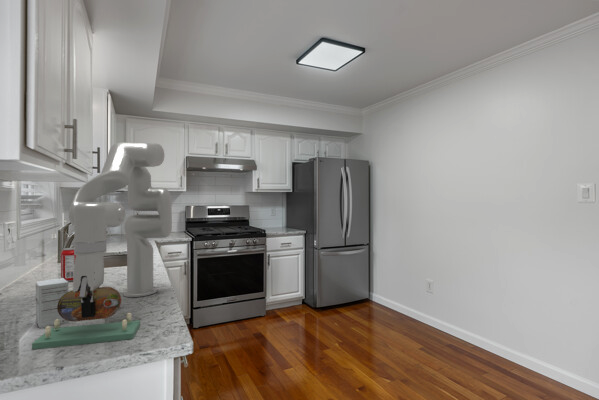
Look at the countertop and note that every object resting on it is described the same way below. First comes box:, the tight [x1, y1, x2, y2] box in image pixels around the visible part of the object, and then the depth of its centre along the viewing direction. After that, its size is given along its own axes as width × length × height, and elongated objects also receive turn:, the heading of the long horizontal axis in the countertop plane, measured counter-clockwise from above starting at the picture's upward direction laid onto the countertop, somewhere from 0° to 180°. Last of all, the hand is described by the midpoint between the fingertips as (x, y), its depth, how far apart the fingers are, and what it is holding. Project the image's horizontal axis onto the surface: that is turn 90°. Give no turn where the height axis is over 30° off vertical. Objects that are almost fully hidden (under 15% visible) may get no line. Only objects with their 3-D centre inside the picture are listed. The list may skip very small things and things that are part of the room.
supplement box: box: [35, 277, 69, 329], centre depth 101 cm, size 7×7×13 cm
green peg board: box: [31, 312, 141, 350], centre depth 90 cm, size 10×23×5 cm, turn 106°
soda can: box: [60, 247, 76, 283], centre depth 153 cm, size 8×8×15 cm
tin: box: [57, 286, 122, 323], centre depth 90 cm, size 15×3×8 cm, turn 105°
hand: (90, 314), depth 90 cm, fingers closed on tin, 2 cm apart
